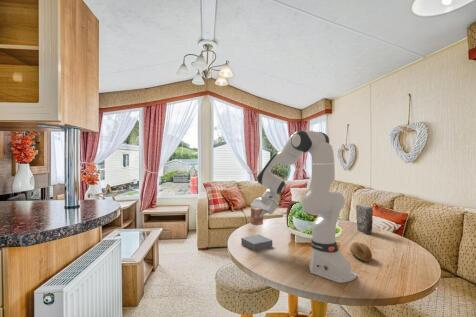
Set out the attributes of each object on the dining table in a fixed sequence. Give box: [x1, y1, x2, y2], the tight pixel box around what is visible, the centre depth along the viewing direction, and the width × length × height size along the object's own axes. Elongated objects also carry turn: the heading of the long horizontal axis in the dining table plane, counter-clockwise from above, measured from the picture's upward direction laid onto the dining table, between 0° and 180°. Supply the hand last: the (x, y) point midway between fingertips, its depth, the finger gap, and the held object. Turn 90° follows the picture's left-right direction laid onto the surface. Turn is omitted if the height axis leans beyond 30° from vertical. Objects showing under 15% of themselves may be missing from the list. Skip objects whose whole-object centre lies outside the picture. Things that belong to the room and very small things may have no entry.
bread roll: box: [349, 242, 373, 262], centre depth 142 cm, size 10×15×8 cm, turn 2°
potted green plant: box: [285, 200, 300, 227], centre depth 207 cm, size 11×8×20 cm
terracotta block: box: [250, 207, 264, 226], centre depth 161 cm, size 6×6×10 cm
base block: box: [240, 234, 273, 252], centre depth 161 cm, size 14×14×4 cm
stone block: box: [355, 204, 374, 236], centre depth 191 cm, size 13×7×20 cm, turn 11°
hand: (256, 215), depth 161 cm, fingers closed on terracotta block, 5 cm apart
